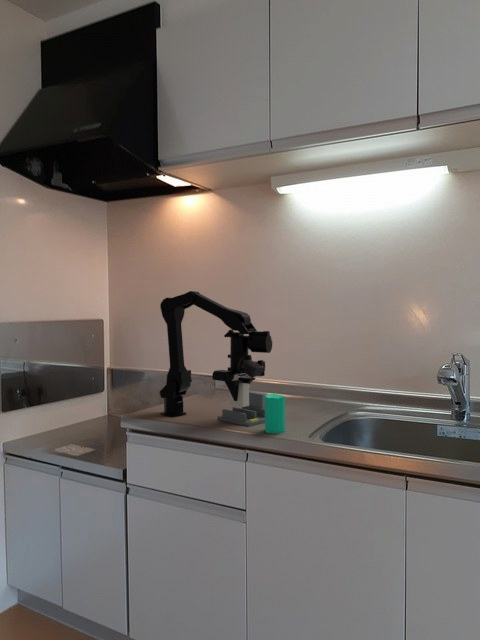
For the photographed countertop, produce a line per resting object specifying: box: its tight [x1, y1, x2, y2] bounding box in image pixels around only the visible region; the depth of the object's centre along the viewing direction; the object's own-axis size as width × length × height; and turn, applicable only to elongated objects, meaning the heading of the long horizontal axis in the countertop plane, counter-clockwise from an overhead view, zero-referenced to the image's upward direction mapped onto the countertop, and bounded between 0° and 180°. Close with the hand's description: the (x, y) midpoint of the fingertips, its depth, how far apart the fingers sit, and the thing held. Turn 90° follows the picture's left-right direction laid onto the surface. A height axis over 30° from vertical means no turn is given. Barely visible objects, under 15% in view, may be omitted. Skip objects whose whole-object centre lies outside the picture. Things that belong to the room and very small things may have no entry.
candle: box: [264, 393, 286, 434], centre depth 147 cm, size 6×6×12 cm
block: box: [228, 383, 250, 408], centre depth 159 cm, size 6×3×7 cm, turn 46°
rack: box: [217, 391, 269, 427], centre depth 162 cm, size 14×15×8 cm
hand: (239, 400), depth 159 cm, fingers closed on block, 3 cm apart
